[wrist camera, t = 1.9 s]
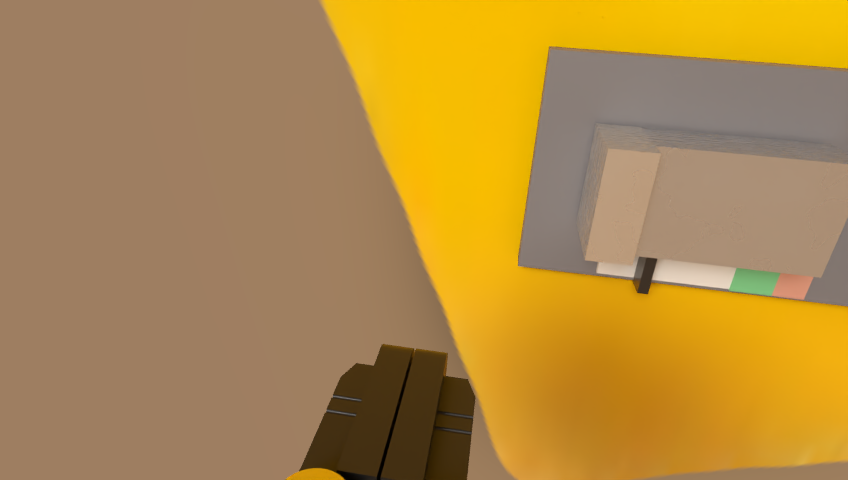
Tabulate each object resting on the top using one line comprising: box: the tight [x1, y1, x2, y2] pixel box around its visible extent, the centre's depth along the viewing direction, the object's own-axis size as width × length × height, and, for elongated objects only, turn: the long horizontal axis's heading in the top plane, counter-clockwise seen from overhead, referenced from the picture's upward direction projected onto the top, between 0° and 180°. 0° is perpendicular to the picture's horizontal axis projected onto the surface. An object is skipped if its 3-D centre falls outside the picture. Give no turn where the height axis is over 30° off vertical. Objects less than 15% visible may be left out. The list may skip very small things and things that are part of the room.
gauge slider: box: [576, 123, 848, 294], centre depth 24 cm, size 10×8×4 cm
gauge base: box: [518, 47, 848, 306], centre depth 23 cm, size 24×11×7 cm, turn 87°
